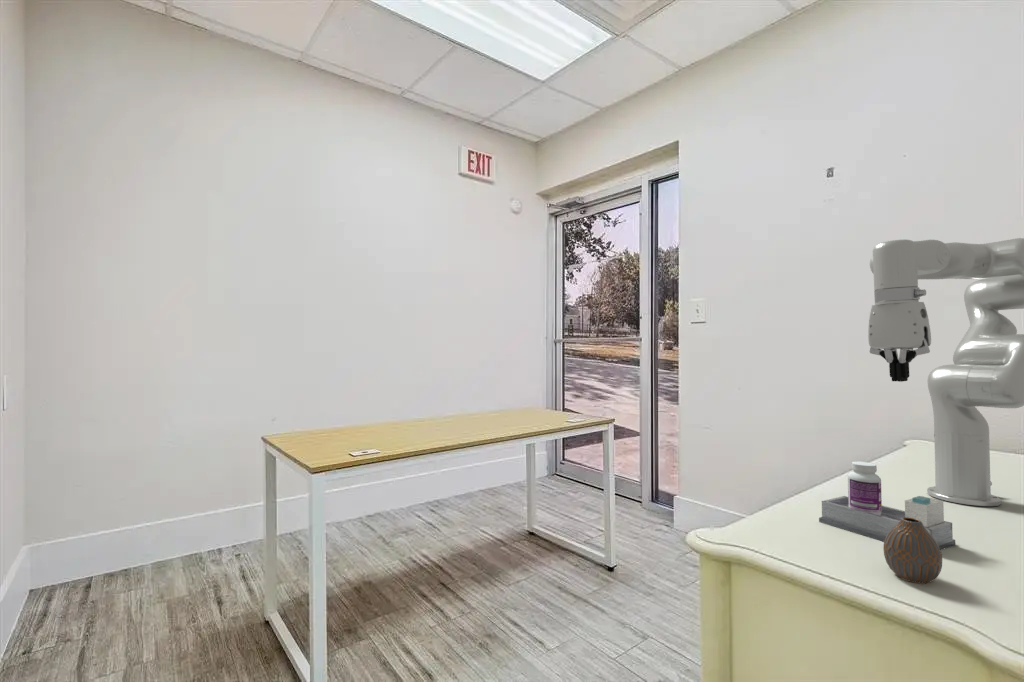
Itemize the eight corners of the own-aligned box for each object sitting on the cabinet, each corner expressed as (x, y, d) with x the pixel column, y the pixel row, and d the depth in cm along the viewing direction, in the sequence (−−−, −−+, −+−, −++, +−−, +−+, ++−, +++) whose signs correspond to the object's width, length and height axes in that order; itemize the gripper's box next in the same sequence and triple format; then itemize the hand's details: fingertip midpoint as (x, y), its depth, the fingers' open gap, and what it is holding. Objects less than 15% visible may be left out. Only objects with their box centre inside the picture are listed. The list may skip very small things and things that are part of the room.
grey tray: (847, 514, 102) (846, 474, 102) (955, 544, 86) (954, 497, 86) (819, 521, 97) (818, 480, 97) (927, 554, 81) (926, 505, 81)
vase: (872, 568, 76) (871, 512, 76) (912, 566, 77) (911, 511, 77) (912, 589, 69) (911, 528, 69) (956, 587, 70) (954, 527, 70)
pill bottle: (888, 518, 91) (887, 467, 91) (856, 516, 92) (855, 465, 92) (872, 509, 96) (871, 461, 97) (843, 507, 97) (842, 459, 98)
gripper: (947, 294, 100) (951, 381, 100) (867, 301, 113) (870, 378, 113) (929, 293, 96) (933, 384, 96) (849, 300, 110) (852, 380, 109)
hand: (899, 380), depth 104 cm, fingers closed
